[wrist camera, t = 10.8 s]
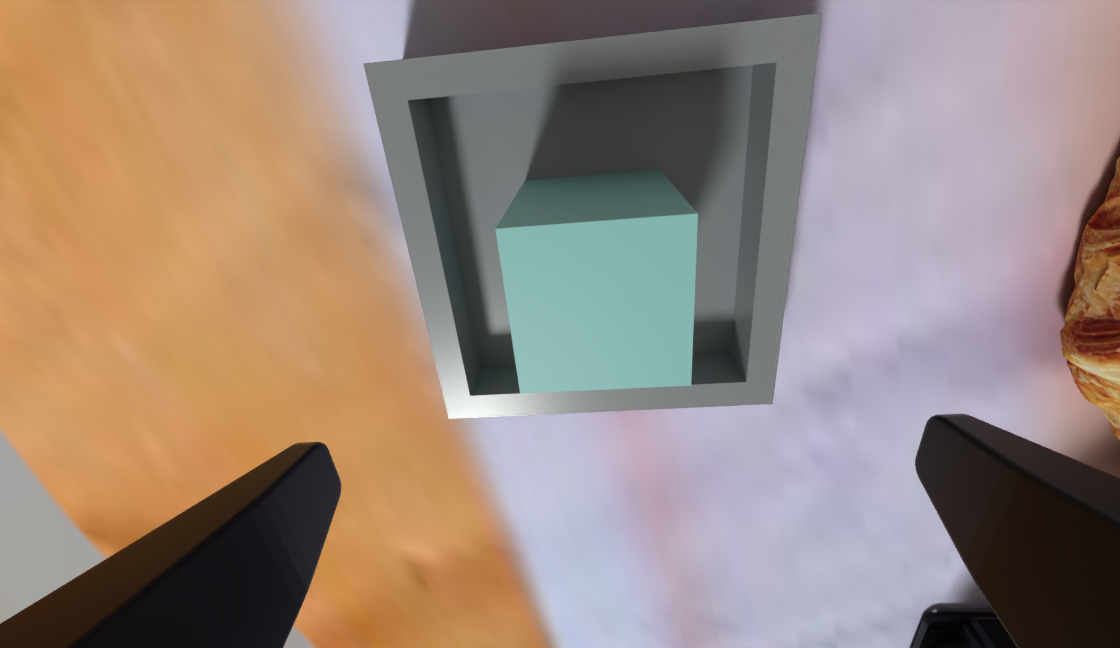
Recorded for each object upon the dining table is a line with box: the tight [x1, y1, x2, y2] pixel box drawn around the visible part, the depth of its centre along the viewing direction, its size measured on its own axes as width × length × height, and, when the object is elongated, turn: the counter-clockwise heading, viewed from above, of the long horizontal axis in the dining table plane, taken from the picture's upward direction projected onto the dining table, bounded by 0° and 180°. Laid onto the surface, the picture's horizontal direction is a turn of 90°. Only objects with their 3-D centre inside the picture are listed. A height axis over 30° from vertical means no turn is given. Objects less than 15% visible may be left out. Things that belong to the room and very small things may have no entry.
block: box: [495, 169, 698, 394], centre depth 14 cm, size 4×4×6 cm
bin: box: [364, 13, 822, 419], centre depth 17 cm, size 12×12×3 cm
